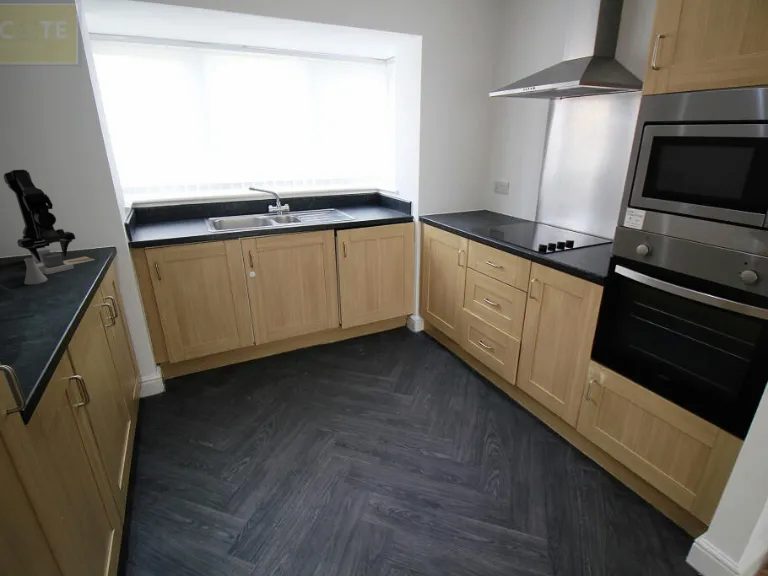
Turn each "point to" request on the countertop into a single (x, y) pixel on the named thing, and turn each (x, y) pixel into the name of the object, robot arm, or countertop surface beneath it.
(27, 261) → the flask
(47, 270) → the power strip
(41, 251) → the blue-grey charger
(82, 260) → the cork pad
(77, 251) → the countertop surface
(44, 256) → the block
